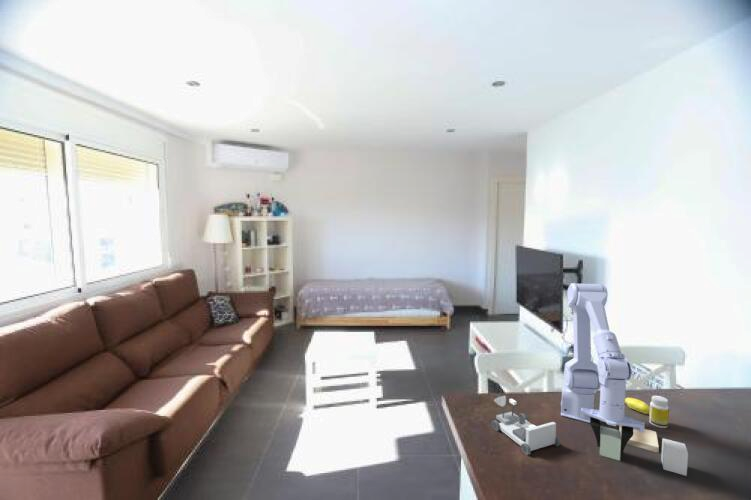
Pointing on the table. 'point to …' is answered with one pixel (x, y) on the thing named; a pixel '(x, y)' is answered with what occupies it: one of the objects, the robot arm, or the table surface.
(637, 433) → the birch block
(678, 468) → the grey block
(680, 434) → the table surface
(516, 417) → the toy car
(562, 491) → the table surface
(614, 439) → the sage block
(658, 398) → the supplement bottle
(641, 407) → the lemon
